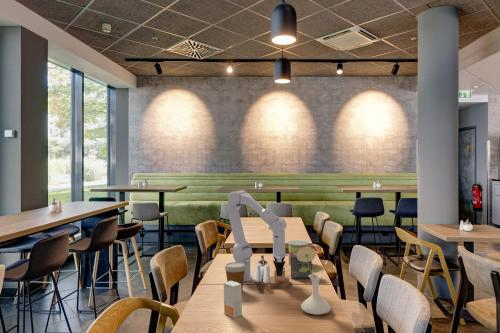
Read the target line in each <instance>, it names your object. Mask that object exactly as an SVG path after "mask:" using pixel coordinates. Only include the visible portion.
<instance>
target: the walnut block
mask: <svg viewBox="0 0 500 333" xmlns="http://www.w3.org/2000/svg"><path fill="white" fill-rule="evenodd" d="M290 283H291V282H290V277H289V276H285V281H274V276H269V289H290Z"/></svg>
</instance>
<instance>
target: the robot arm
mask: <svg viewBox="0 0 500 333" xmlns="http://www.w3.org/2000/svg"><path fill="white" fill-rule="evenodd" d="M242 205H247V206H249V207H250V208H251V209H252V210H254V211H255V212H256V213H258V214H259V218H260V219H261V220H262V221H263V222H265V223H266V224H267V225H268V226H270V230H271V231H272V256H273V259H274V260H273V261H272V263H273V265H274V268H276V273H277V276H282V273H283V268H285V267H284V266H285V264H286V261H285V258H286V257H287V256H288V257H289V253H286V232H285V229H286V228H287V222H286V220H285V219H284V218H283V217H282V218H280V216H279V215H276V214H275V213H274V212H273V210H272V209H271V208H270V209H269V208H264V207H263V206H262V205H261V204H260V203H259V202H258V201H257V200H256V199H254V198H253V197H252V196H251V194H250V193H248V192H247V191H246V190H243V189H241V190H237V191H234V190H233V191H232V192H230V193H229V194H228V196H227V206H226V210H227V215H228V219H229V220H228V221H229V223H230V227H231V230H232V236H233V240H234V245H233V247H232V250H233V256H232V257H233V260H232V261H231V262H241V263H244V265H245V267H246V268H245V271H244V280H243V282H251V281H252V278H253V275H252V274H251V258H252V256H253V254H254V253H253V252H254V251H253V249H252V248H251V246H250V243H249V242H248V241H247V240H246V236H245V232H244V227H243V224H242V220H241V216H240V213H239V212H240V211H239V210H240V208H241V206H242Z"/></svg>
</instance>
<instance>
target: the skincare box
mask: <svg viewBox="0 0 500 333" xmlns="http://www.w3.org/2000/svg"><path fill="white" fill-rule="evenodd" d="M242 293H243V290H242V288H241V284H240V283H237V282H234V281H228V282H227V281H226V282H223V313H224V314H225V315H227V316H229V317H232V318H233V319H236V318H238V317H240V316H242V315H243V307H242V306H243V305H242V304H243V302H242V301H243V298H242V297H243V296H242Z"/></svg>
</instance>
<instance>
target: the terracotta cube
mask: <svg viewBox="0 0 500 333" xmlns="http://www.w3.org/2000/svg"><path fill="white" fill-rule="evenodd" d="M273 271H274V272H273V277H274V281H285V277H286V267H283V273H282V276H277V273H276V268H275V267H274V268H273Z"/></svg>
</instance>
